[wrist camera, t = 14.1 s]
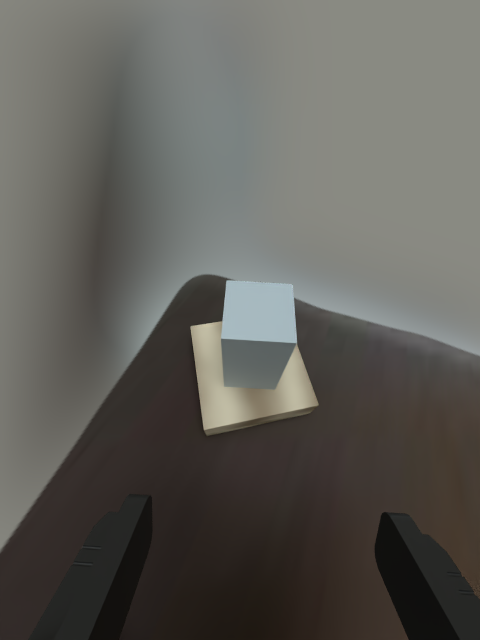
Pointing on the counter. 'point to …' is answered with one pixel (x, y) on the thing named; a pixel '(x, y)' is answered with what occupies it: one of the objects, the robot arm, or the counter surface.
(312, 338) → the counter surface
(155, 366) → the counter surface
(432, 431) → the counter surface
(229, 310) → the grey rectangular block
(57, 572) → the counter surface
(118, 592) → the robot arm
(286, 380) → the beech block
